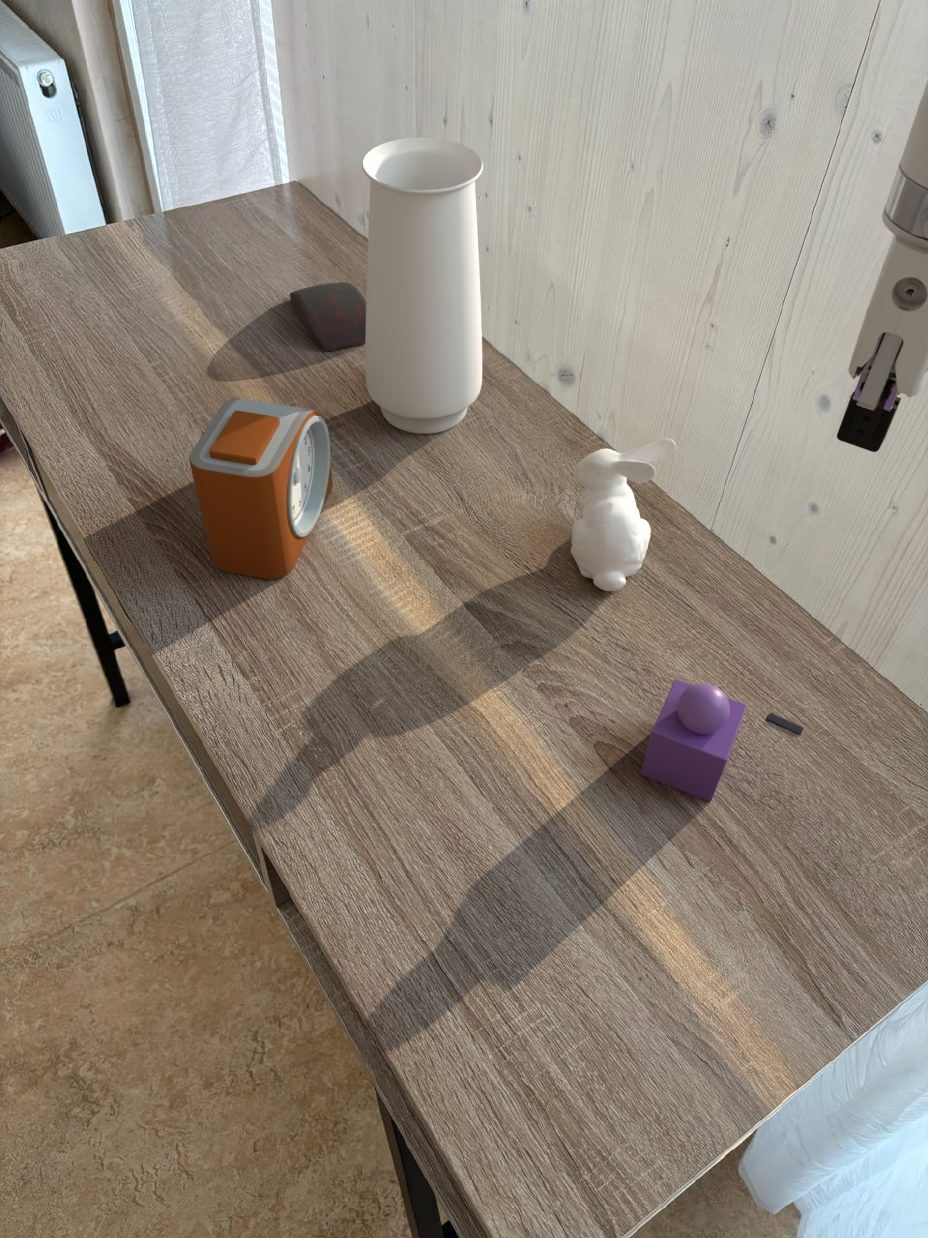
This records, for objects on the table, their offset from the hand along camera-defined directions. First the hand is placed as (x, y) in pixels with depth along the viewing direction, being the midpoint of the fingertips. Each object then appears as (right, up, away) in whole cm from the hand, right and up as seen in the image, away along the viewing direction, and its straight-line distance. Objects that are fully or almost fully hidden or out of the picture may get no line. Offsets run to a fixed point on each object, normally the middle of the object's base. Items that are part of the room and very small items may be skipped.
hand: (859, 440), depth 76 cm
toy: (-11, -25, +8) cm, 29 cm away
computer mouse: (-47, +24, +52) cm, 74 cm away
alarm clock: (-49, -4, +26) cm, 56 cm away
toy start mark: (-2, -23, +11) cm, 25 cm away
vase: (-34, +11, +40) cm, 54 cm away
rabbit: (-16, -7, +25) cm, 30 cm away
